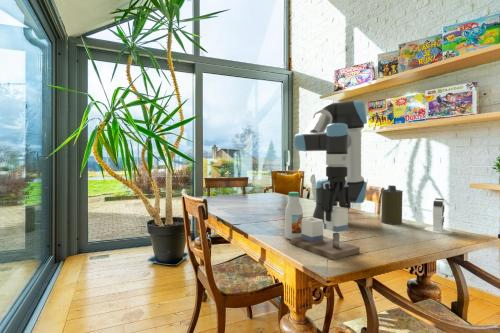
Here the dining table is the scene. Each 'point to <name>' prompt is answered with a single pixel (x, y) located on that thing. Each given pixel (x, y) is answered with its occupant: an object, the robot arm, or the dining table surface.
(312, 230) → the seated sleeve
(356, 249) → the pin board
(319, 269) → the dining table surface
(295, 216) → the milk bottle
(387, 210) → the canister
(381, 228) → the dining table surface
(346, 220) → the white sleeve
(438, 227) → the light grey upright piece
